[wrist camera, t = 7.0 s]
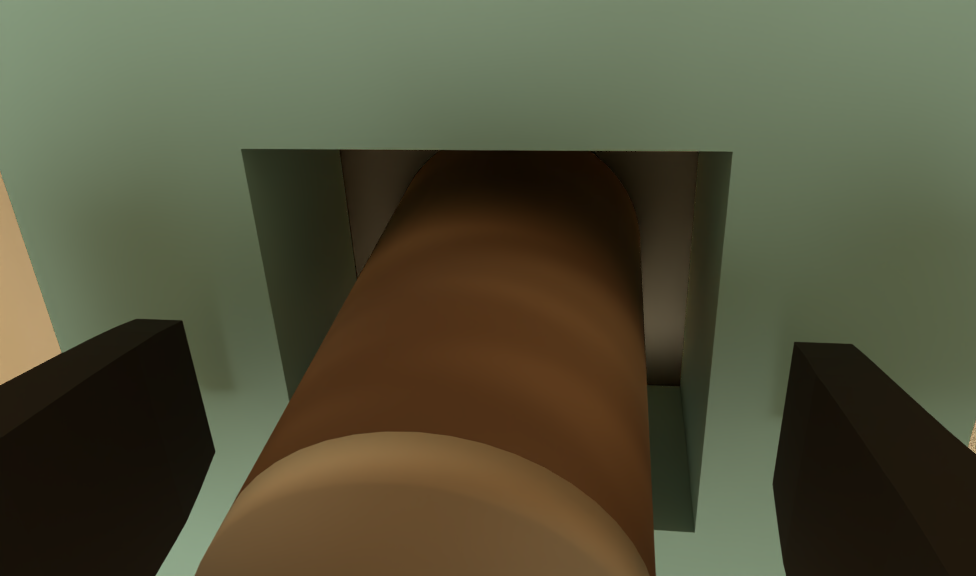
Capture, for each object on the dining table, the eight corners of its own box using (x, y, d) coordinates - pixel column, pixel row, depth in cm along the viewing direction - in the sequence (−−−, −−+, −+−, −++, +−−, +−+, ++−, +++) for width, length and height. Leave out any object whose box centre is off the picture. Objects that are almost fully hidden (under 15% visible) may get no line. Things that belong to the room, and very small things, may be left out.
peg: (648, 130, 13) (682, 505, 6) (632, 352, 15) (643, 829, 8) (388, 124, 13) (142, 464, 6) (406, 340, 15) (230, 777, 8)
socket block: (979, -111, 11) (1120, -78, 8) (851, 492, 16) (906, 657, 13) (95, -81, 12) (-73, -44, 9) (227, 456, 17) (143, 594, 14)
